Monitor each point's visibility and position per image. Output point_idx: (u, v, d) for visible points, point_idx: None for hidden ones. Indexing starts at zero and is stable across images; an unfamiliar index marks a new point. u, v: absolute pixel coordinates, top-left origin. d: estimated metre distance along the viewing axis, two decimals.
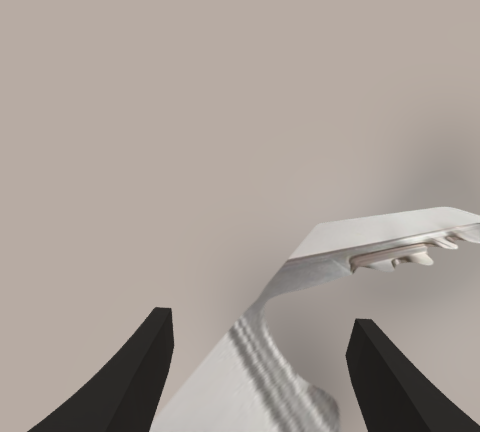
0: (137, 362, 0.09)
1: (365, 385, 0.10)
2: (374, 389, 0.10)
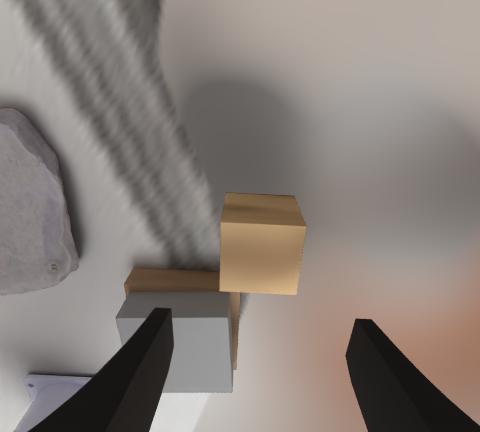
0: (137, 362, 0.09)
1: (365, 385, 0.10)
2: (374, 389, 0.10)
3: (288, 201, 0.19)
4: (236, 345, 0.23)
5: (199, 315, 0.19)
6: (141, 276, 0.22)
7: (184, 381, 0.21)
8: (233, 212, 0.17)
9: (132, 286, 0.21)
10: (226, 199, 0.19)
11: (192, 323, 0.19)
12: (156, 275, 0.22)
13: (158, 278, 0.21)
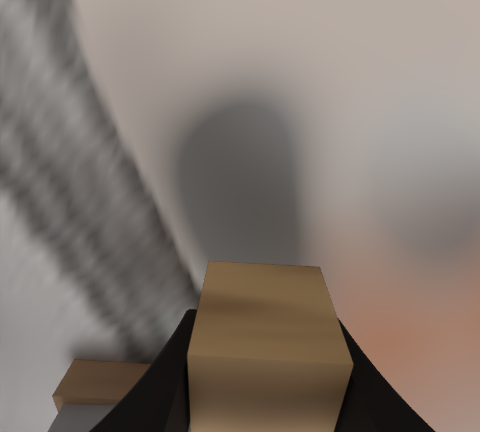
0: (181, 365, 0.09)
1: None
2: None
3: (311, 283, 0.11)
4: None
5: None
6: (82, 378, 0.14)
7: None
8: (216, 321, 0.09)
9: (65, 399, 0.14)
10: (206, 280, 0.11)
11: None
12: (105, 375, 0.14)
13: (107, 382, 0.14)
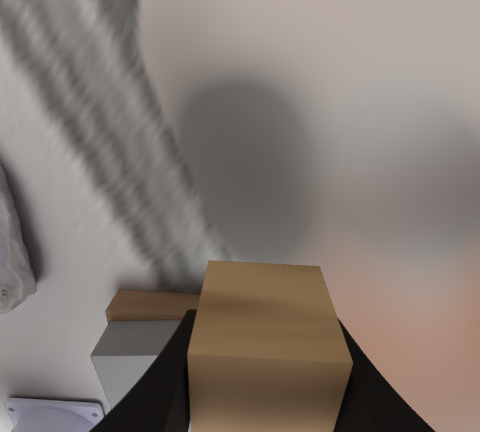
0: (181, 365, 0.09)
1: None
2: None
3: (311, 282, 0.11)
4: None
5: None
6: (125, 301, 0.19)
7: None
8: (216, 320, 0.09)
9: (114, 313, 0.18)
10: (206, 279, 0.11)
11: None
12: (142, 300, 0.19)
13: (145, 304, 0.19)
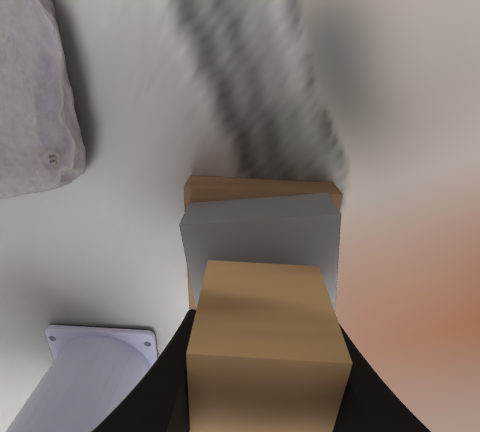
0: (183, 365, 0.09)
1: None
2: None
3: (310, 282, 0.11)
4: None
5: (298, 214, 0.13)
6: (204, 182, 0.16)
7: None
8: (214, 320, 0.09)
9: (194, 191, 0.15)
10: (206, 279, 0.11)
11: (288, 227, 0.13)
12: (223, 181, 0.16)
13: (227, 184, 0.16)
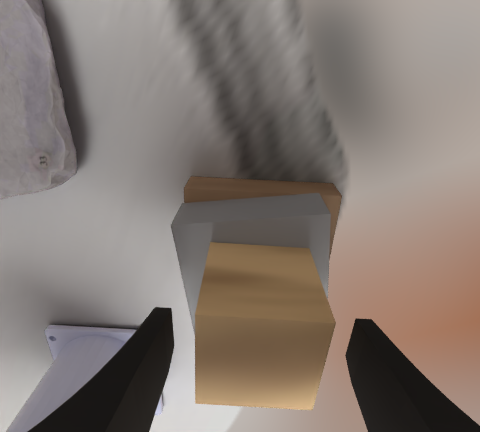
0: (137, 362, 0.09)
1: (365, 385, 0.10)
2: (374, 389, 0.10)
3: (301, 261, 0.13)
4: None
5: (288, 214, 0.13)
6: (204, 183, 0.16)
7: None
8: (218, 289, 0.11)
9: (194, 192, 0.15)
10: (209, 257, 0.13)
11: (278, 227, 0.13)
12: (223, 183, 0.16)
13: (227, 185, 0.16)
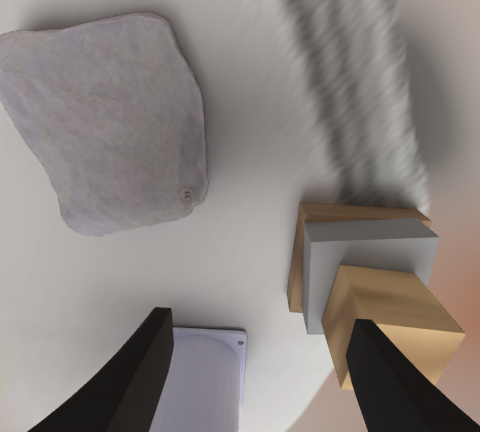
0: (137, 362, 0.09)
1: (365, 385, 0.10)
2: (374, 389, 0.10)
3: (416, 284, 0.17)
4: None
5: (404, 236, 0.17)
6: (315, 209, 0.20)
7: None
8: (371, 304, 0.15)
9: (312, 217, 0.19)
10: (348, 277, 0.16)
11: (396, 246, 0.17)
12: (330, 208, 0.20)
13: (335, 210, 0.20)
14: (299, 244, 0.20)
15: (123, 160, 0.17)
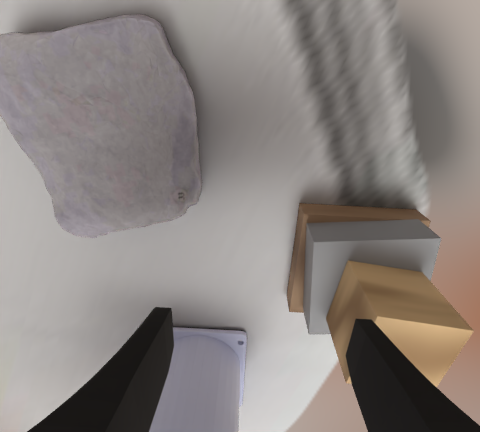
0: (137, 362, 0.09)
1: (365, 385, 0.10)
2: (374, 389, 0.10)
3: (423, 282, 0.17)
4: None
5: (406, 237, 0.17)
6: (315, 209, 0.20)
7: None
8: (380, 299, 0.15)
9: (312, 217, 0.19)
10: (356, 273, 0.16)
11: (398, 247, 0.17)
12: (330, 208, 0.20)
13: (335, 211, 0.20)
14: (298, 244, 0.20)
15: (116, 162, 0.17)
